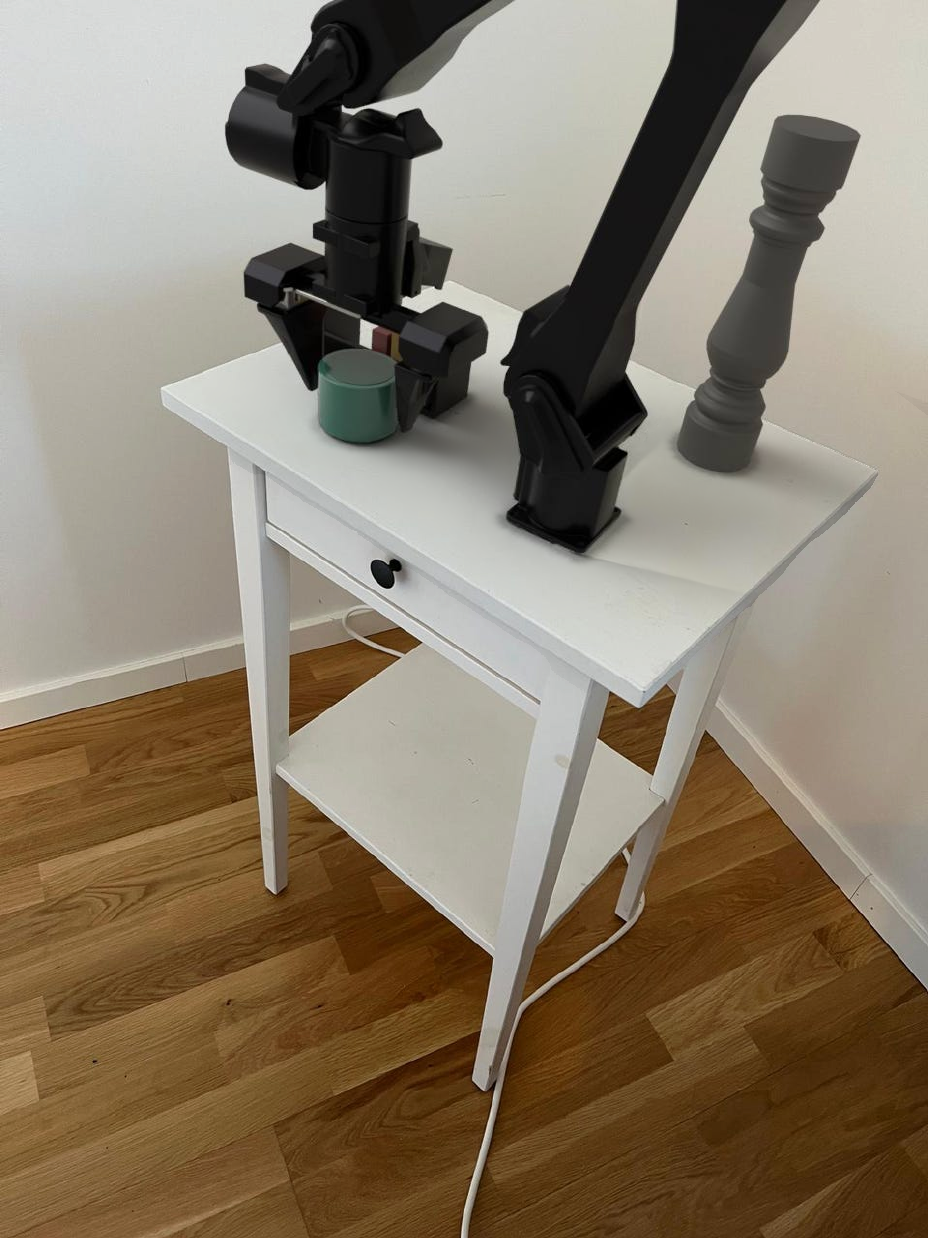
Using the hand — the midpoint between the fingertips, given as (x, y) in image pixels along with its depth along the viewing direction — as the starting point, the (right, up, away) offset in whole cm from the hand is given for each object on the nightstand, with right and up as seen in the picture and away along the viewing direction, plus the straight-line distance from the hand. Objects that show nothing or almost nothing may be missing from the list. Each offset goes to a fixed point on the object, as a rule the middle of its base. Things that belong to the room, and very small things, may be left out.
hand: (359, 409), depth 78 cm
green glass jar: (0, -1, +1) cm, 1 cm away
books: (+4, +3, +6) cm, 8 cm away
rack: (+2, +4, +7) cm, 8 cm away
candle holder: (+29, -3, +4) cm, 29 cm away
